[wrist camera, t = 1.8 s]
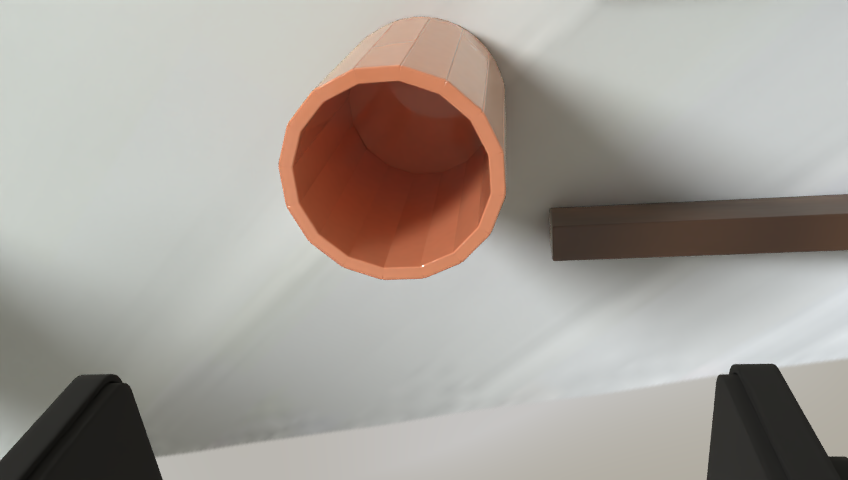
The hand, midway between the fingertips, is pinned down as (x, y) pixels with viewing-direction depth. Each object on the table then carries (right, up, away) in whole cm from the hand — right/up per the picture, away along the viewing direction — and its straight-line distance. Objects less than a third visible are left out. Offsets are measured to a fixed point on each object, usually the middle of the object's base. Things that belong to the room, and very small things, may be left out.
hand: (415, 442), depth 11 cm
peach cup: (0, +9, +18) cm, 20 cm away
